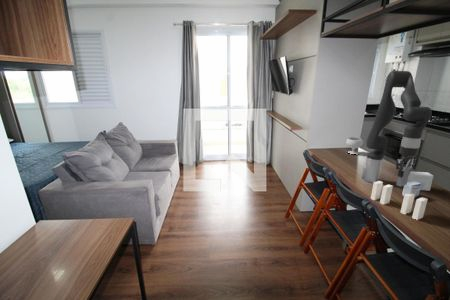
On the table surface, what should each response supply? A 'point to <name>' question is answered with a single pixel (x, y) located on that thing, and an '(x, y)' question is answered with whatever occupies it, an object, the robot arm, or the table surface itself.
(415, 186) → the medicine box
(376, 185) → the domino
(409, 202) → the domino
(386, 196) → the domino
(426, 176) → the skincare box
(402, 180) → the domino
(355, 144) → the chalice
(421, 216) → the domino
